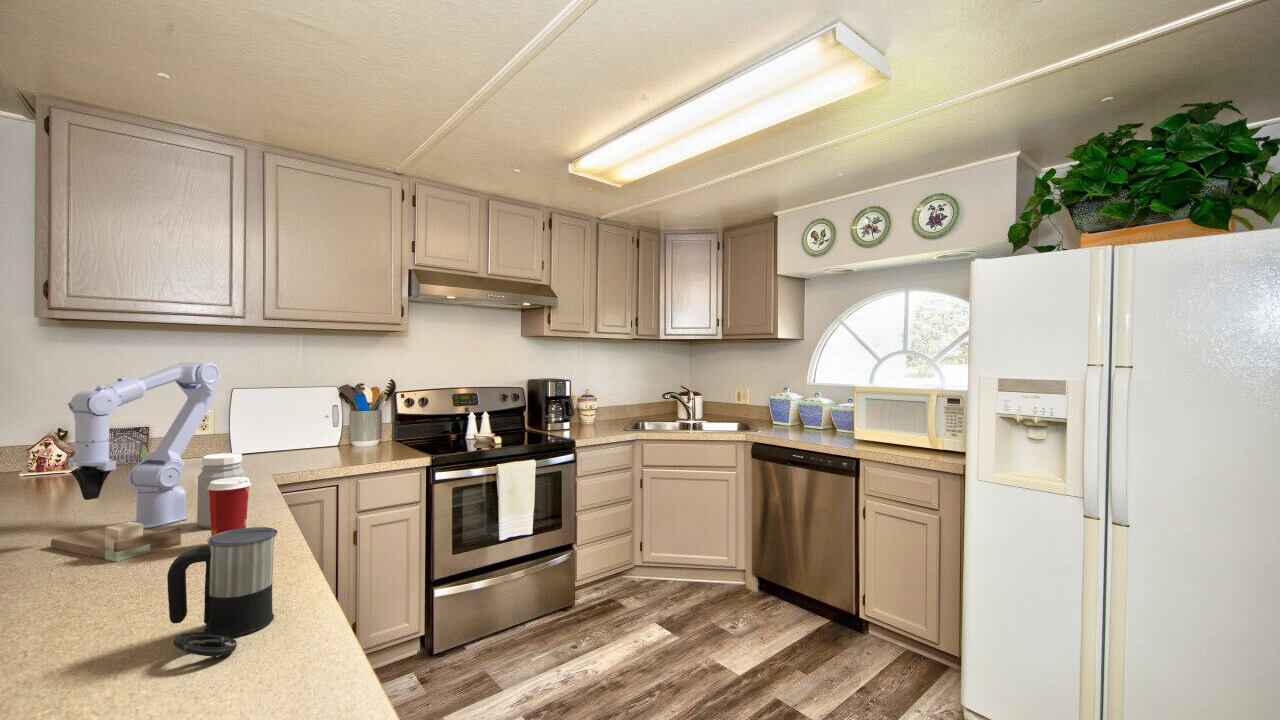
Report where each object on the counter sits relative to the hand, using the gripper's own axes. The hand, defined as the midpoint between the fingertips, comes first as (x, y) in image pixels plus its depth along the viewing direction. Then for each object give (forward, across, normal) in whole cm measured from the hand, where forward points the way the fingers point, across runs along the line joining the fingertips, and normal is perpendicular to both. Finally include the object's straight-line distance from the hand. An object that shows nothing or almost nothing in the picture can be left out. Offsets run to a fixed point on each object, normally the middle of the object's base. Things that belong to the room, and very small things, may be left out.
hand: (91, 498), depth 128 cm
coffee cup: (+10, +32, +10) cm, 35 cm away
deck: (+10, +10, 0) cm, 14 cm away
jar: (+10, +14, +20) cm, 26 cm away
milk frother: (+10, +76, -19) cm, 79 cm away
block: (+8, +19, -3) cm, 21 cm away
